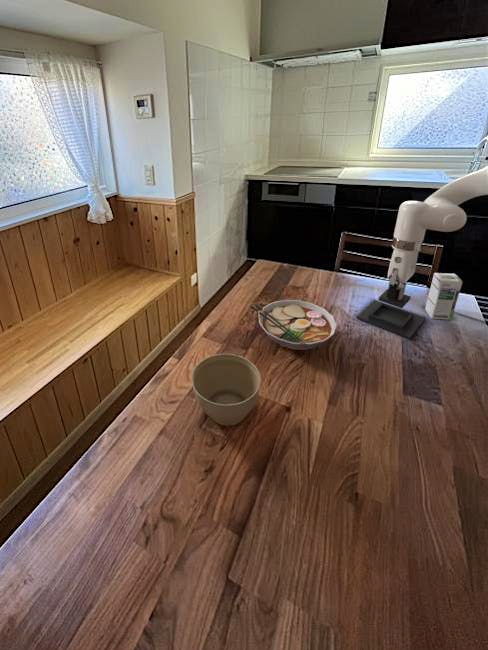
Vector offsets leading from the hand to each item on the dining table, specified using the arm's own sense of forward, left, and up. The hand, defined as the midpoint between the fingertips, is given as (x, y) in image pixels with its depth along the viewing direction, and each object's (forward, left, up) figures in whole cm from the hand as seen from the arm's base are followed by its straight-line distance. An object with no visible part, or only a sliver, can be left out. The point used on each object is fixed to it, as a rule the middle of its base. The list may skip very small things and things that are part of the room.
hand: (395, 295), depth 108 cm
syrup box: (-10, -13, -10) cm, 19 cm away
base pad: (0, 0, -9) cm, 9 cm away
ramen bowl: (+17, +30, -10) cm, 36 cm away
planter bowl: (+14, +65, -10) cm, 67 cm away
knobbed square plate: (0, 0, -2) cm, 2 cm away
